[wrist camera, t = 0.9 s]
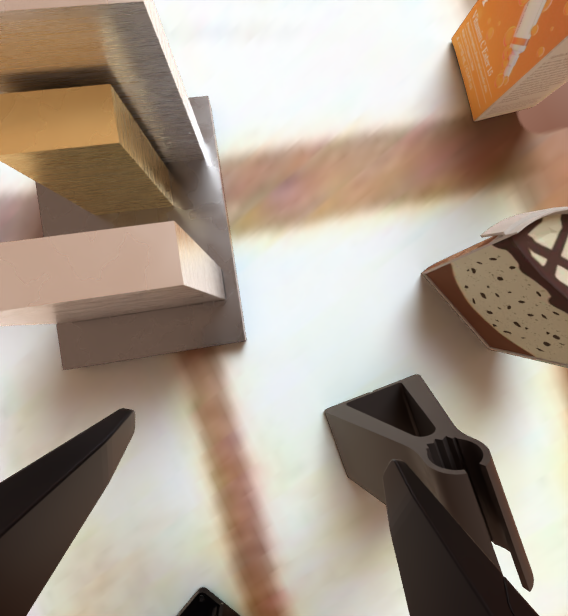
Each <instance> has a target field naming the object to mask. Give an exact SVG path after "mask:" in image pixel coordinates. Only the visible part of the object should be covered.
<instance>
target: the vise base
mask: <svg viewBox="0 0 568 616" xmlns="http://www.w3.org/2000/svg"><path fill="white" fill-rule="evenodd" d="M104 84H111V86H112V87H113V89H114V90H115V91H116V93H117V94H118V96H119V97H120V99H121V100H122V102H123V103H124V105H125V106H126V108H127V109H128V111H129V112H130V114H131V115H132V117H133V118H134V120H135V121H136V123H137V124H138V125H139V127H140V128H141V130H142V131H143V133H144V134H145V136H146V137H147V139H148V140H149V142H150V143H151V145H152V146H153V148H154V149H155V151H156V152H157V154H158V155H159V157H160V158H161V159H162V161H163V162H164V164H165V165H166V167H167V168H168V174H169V181H170V187H171V194H172V200H173V206H168V207H160V208H151V209H143V210H135V211H127V212H119V213H111V214H103V215H94V214H92V213H90V212H88V211H87V210H85V209H83V208H81V207H80V206H78V205H76V204H74V203H73V202H71V201H69V200H67V199H66V198H64V197H62V196H61V195H59V194H57V193H55V192H54V191H52V190H50V189H48V188H47V187H45V186H43V185H41V184H40V183H38V182H36V188H37V195H38V202H39V209H40V215H41V222H42V229H43V236H44V237H50V236H58V235H66V234H73V233H81V232H89V231H97V230H105V229H113V228H121V227H129V226H136V225H144V224H152V223H160V222H168V221H175V222H176V223H177V224H178V225H179V226H180V227H181V228H182V229H183V230H184V231H185V232H186V233H187V234H188V235H189V236H190V237H191V238H192V239H193V240H194V241H195V242H196V243H197V244H198V245H199V246H200V247H201V248H202V249H203V250H204V252H205V253H206V254H207V255H208V256H209V257H210V258H211V259H212V260H213V261H214V262H215V263H216V264H217V265H218V266H219V267H220V268H221V272H222V278H223V285H224V292H225V298H226V299H225V300H219V301H212V302H205V303H198V304H192V305H185V306H178V307H171V308H165V309H158V310H151V311H145V312H138V313H131V314H124V315H118V316H111V317H104V318H97V319H91V320H84V321H77V322H71V323H57V324H56V325H57V332H58V339H59V345H60V352H61V359H62V366H63V370H67V369H73V368H79V367H86V366H92V365H98V364H104V363H110V362H117V361H123V360H129V359H135V358H142V357H148V356H154V355H160V354H167V353H173V352H179V351H185V350H192V349H198V348H204V347H210V346H217V345H223V344H229V343H235V342H242V341H246V339H247V338H246V332H245V325H244V318H243V312H242V305H241V299H240V292H239V286H238V279H237V273H236V266H235V259H234V253H233V246H232V240H231V233H230V227H229V220H228V214H227V207H226V200H225V194H224V187H223V181H222V174H221V168H220V161H219V154H218V148H217V141H216V135H215V128H214V122H213V115H212V109H211V105H210V102H209V98H208V96H202V97H192V98H188V96H187V93H186V90H185V88H184V85H183V82H182V79H181V76H180V74H179V71H178V68H177V65H176V62H175V60H174V57H173V54H172V51H171V49H170V46H169V43H168V40H167V37H166V35H165V32H164V29H163V26H162V23H161V21H160V18H159V15H158V12H157V10H156V7H155V4H154V1H153V0H0V94H5V93H16V92H27V91H38V90H49V89H60V88H71V87H82V86H93V85H104Z"/></svg>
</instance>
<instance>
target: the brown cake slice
mask: <svg viewBox="0 0 568 616" xmlns="http://www.w3.org/2000/svg"><path fill="white" fill-rule="evenodd" d="M480 236H481V237H489V236H493V237H491V238H488V239H486V240H484V241H482V242H480V243H478V244H476V245H473V246H471V247H469V248H467V249H465V250H463V251H461V252H458V253H456V254H454V255H452V256H450V257H448V258H446V259H444V260H441V261H439V262H437V263H435V264H433V265H432V266H430V267H428V268H427V269H426V270H425V271H423V272H422V274H423V276H424V277H425V278H426V279H427V280H428V281H429V282H430V283H431V285H432V286H433V287H434V288H435V289H436V290H437V291H438V293H439V294H440V295H441V296H442V297H443V298H444V299H445V300H446V302H447V303H448V304H449V305H450V306H451V307H452V308H453V309H454V311H455V312H456V313H457V314H458V315H459V316H460V317H461V319H462V320H463V321H464V322H465V323H466V324H467V325H468V326H469V328H470V329H471V330H472V331H473V332H474V333H475V334H476V336H477V337H478V338H479V339H480V340H481V341H482V342H483V343H484V345H485V346H486V347H487V348H488V349H490V350H494V351H498V352H502V353H507V354H511V355H515V356H520V357H524V358H528V359H532V360H537V361H541V362H545V363H549V364H554V365H558V366H562V367H566V368H568V207H556V208H550V209H544V210H538V211H533V212H527V213H522V214H517V215H515V216H512V217H509V218H506V219H504V220H502V221H500V222H499V223H497V224H495V225H493V226H492V227H490V228H489V229H488V230H486V231H485V232H484V233H483V234H481V235H480Z"/></svg>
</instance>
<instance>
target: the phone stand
mask: <svg viewBox="0 0 568 616" xmlns="http://www.w3.org/2000/svg"><path fill="white" fill-rule="evenodd" d="M325 414H326V417H327V419H328V422H329V425H330V428H331V431H332V433H333V436H334V439H335V442H336V445H337V448H338V450H339V453H340V456H341V459H342V462H343V465H344V467H345V470H346V473H347V476H348V477H349V478H350V479H351V480H353V481H354V482H355V483H357V484H358V485H359V486H361V487H362V488H364V489H365V490H366V491H368V492H369V493H370V494H372V495H373V496H375V497H376V498H377V499H379V500H380V501H381V502H383V503H384V504H385V505H386V500H385V493H384V486H383V474H384V471H385V470H386V468H387V466H388V464H389V462H390V461H391V460H392V459H398V460H402V461H404V462H406V463H407V465H408V466H409V467H410V468H411V469H412V470H413V472H414V473H415V474H416V475H417V476H418V477H419V478H420V480H421V481H422V482H423V483H424V484H425V485H426V487H427V488H428V489H429V490H430V491H431V492H432V493H433V495H434V496H435V497H436V498H437V499H438V500H439V502H440V503H441V504H442V505H443V506H444V507H445V508H446V510H447V511H448V512H449V513H450V514H451V515H452V516H453V518H454V519H455V520H456V521H457V522H458V523H459V525H460V526H461V527H462V528H463V529H464V530H465V531H466V533H467V534H468V535H469V536H470V537H471V538H472V540H473V541H474V542H475V543H476V544H477V545H478V546H479V548H480V549H481V550H482V551H483V552H484V553H485V555H486V556H487V557H488V558H489V559H490V560H491V561H492V563H493V564H494V565H495V566H496V567H497V568H498V570H499V571H500V572H501V573H502V571H501V569H500V566H499V563H498V560H497V557H496V554H495V551H494V549H493V546H492V543H491V541H492V542H493V543H494V544H496V545H498V546H501V547H503V548H505V549H507V550H508V551H510V552H511V555H512V558H513V561H514V564H515V567H516V569H517V572H518V575H519V578H520V581H521V584H522V587H524V588H525V589H527V590H528V591H529V592H530V591H531V590H532V587H533V583H534V578H533V573H532V570H531V567H530V564H529V562H528V559H527V556H526V553H525V550H524V547H523V544H522V542H521V539H520V536H519V533H518V530H517V527H516V525H515V522H514V519H513V516H512V513H511V510H510V507H509V505H508V502H507V499H506V496H505V493H504V490H503V488H502V485H501V482H500V479H499V476H498V473H497V471H496V468H495V465H494V462H493V459H492V456H491V453H490V451H489V449H488V448H487V447H486V446H485V445H484V444H483V443H482V442H480V441H478V440H476V439H473V438H471V437H469V436H467V435H465V434H464V433H462V432H461V431H459V430H458V429H457V428H456V427H455V426H454V424H453V423H452V421H451V420H450V418H449V417H448V415H447V414H446V412H445V411H444V410H443V408H442V407H441V405H440V404H439V402H438V401H437V399H436V398H435V396H434V395H433V393H432V392H431V391H430V389H429V388H428V386H427V385H426V383H425V382H424V380H423V379H422V377H421V376H420V375H418V374H417V375H413V376H410V377H407V378H405V379H402V380H400V381H397V382H395V383H392V384H389V385H387V386H384V387H382V388H379V389H376V390H374V391H373V392H371V393H366V394H363V395H361V396H358V397H356V398H353V399H351V400H348V401H345V402H343V403H340V404H338V405H335V406H332V407H330V408H327V409H326V410H325ZM502 575H503V574H502Z"/></svg>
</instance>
